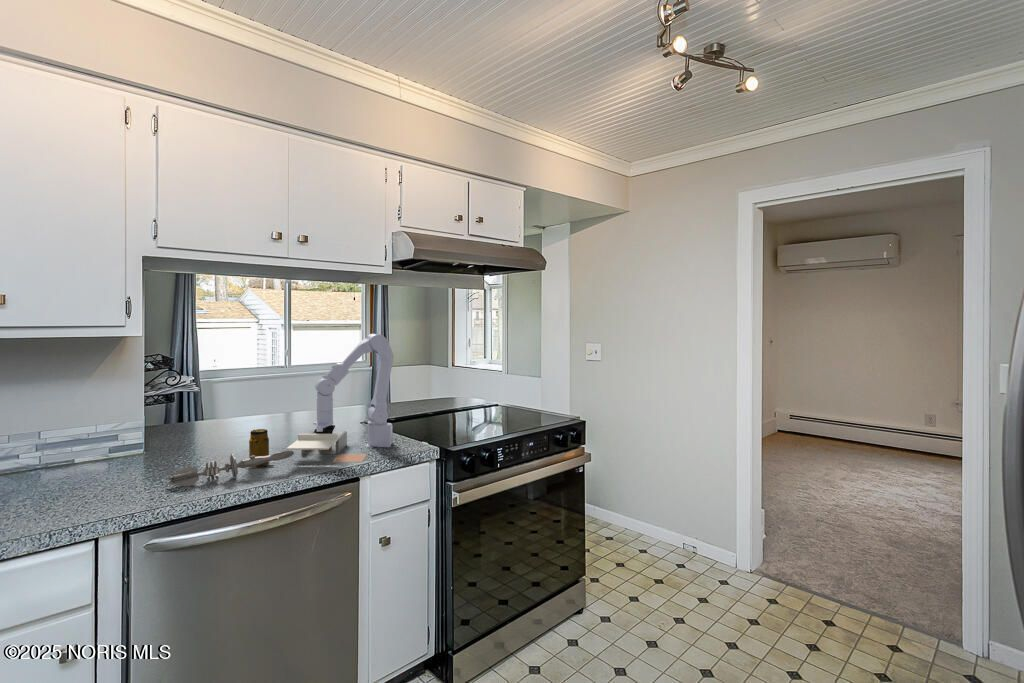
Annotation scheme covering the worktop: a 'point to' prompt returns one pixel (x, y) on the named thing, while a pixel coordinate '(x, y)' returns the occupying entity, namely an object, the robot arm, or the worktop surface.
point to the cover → (313, 442)
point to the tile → (350, 458)
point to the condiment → (259, 445)
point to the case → (335, 448)
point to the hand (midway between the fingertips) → (324, 446)
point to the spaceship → (222, 468)
